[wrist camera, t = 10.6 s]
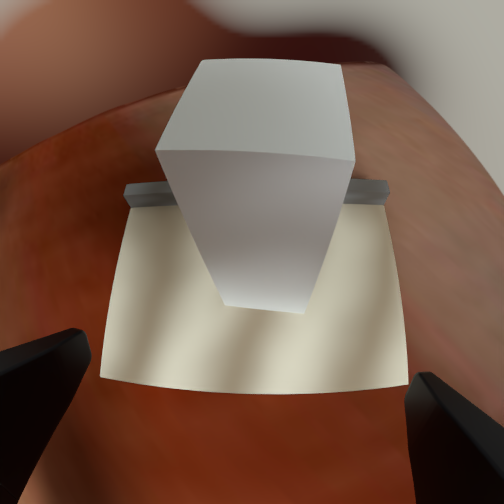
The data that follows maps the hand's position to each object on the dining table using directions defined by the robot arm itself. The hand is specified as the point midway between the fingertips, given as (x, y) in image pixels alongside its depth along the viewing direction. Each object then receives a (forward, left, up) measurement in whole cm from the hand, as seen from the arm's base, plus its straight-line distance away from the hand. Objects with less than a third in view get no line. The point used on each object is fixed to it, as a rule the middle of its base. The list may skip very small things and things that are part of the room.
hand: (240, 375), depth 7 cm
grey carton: (+1, +6, -9) cm, 11 cm away
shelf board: (0, +5, -10) cm, 11 cm away
